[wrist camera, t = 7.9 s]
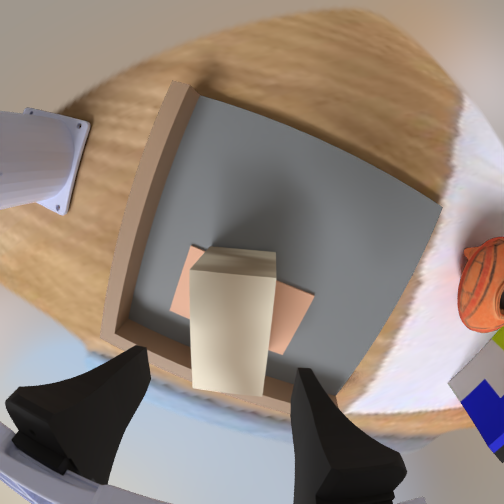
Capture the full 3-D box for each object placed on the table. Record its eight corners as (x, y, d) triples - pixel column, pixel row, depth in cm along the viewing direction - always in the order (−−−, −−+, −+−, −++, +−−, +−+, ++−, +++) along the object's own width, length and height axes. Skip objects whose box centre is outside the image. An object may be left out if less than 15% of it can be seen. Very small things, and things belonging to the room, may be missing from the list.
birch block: (208, 346, 21) (192, 387, 17) (209, 246, 19) (189, 269, 14) (265, 353, 21) (262, 396, 16) (275, 252, 19) (276, 277, 14)
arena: (118, 319, 23) (99, 337, 20) (187, 93, 18) (172, 80, 14) (327, 398, 23) (332, 424, 20) (437, 206, 18) (461, 212, 15)
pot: (481, 326, 20) (510, 360, 14) (426, 295, 22) (449, 327, 15) (519, 253, 18) (557, 270, 12) (465, 213, 19) (502, 221, 13)
